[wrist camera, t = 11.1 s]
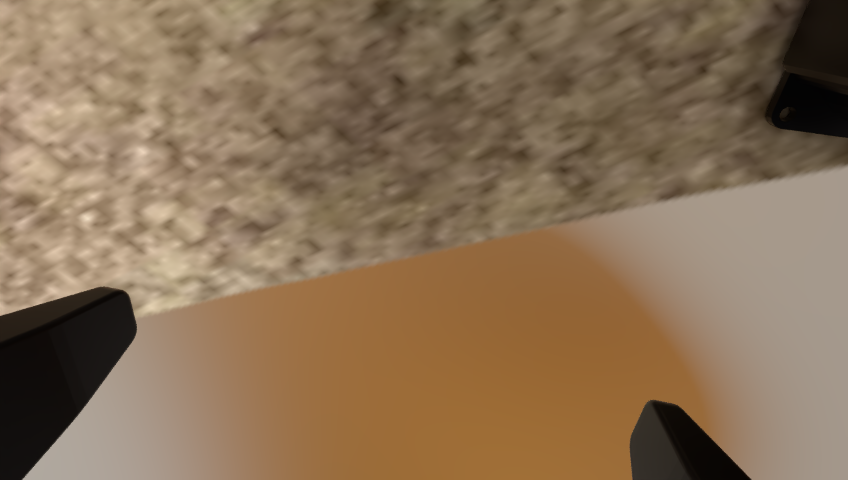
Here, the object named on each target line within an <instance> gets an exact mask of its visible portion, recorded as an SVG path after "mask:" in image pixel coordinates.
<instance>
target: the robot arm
mask: <svg viewBox="0 0 848 480" xmlns="http://www.w3.org/2000/svg"><path fill="white" fill-rule="evenodd" d="M783 66H784V68H785V71H784V73H783V76H782V78H781V80H780V82H779V85H778V87H777V89H776V91H775V94H774V96H773V98H772V100H771V102H770V105H769V107H768V109H767V112H766V119H767V121H768V122H769V123H770V124H771V125H773V126H775V127H778V128H781V129H787V130H794V131H802V132H809V133H816V134H824V135H831V136H838V137H846V138H848V0H810V2H809V4H808V6H807V8H806V11H805V13H804V15H803V17H802V20H801V22H800V24H799V27H798V29H797V31H796V33H795V36H794V38H793V40H792V42H791V45H790V47H789V49H788V51H787V54H786V56H785V58H784V60H783ZM787 107H790V109H791V110H790V114H789V115H788V116H787V117H786V118H784V119H780V118H779V116H780V113H781V111H782V110H783V109H785V108H787ZM136 332H137V324H136V320H135V316H134V312H133V308H132V304H131V300H130V297H129V295H128V294H127V293H126V292H125V291H123V290H120V289H115V288H110V287H98V288H94V289H91V290H87V291H84V292H81V293H77V294H74V295H70V296H67V297H63V298H60V299H57V300H53V301H50V302H46V303H43V304H40V305H36V306H33V307H29V308H26V309H23V310H19V311H16V312H12V313H9V314H5V315H2V316H0V480H22V479H23V478H24V477H25V476H26V474H28V472H29V471H30V470H31V469H32V468H33V467H34V466H35V464H36V463H37V462H38V461H39V460H40V459H41V458H42V456H43V455H44V454H45V453H46V452H47V451H48V450H49V448H50V447H51V446H52V445H53V444H54V443H55V442H56V440H57V439H58V438H59V437H60V436H61V435H62V434H63V432H64V431H65V430H66V429H67V428H68V426H69V425H70V424H71V423H72V422H73V420H74V419H75V418H76V417H77V416H78V415H79V413H80V412H81V411H82V409H83V408H84V407H85V406H86V404H87V403H88V402H89V400H90V399H91V398H92V396H93V395H94V393H95V392H96V391H97V389H98V388H99V386H100V385H101V384H102V382H103V381H104V380H105V378H106V377H107V376H108V374H109V373H110V372H111V370H112V369H113V367H114V366H115V365H116V363H117V362H118V361H119V359H120V358H121V356H122V355H123V354H124V352H125V351H126V350H127V348H128V347H129V345H130V344H131V343H132V341H133V340H134V338H135V335H136ZM630 457H631V467H632V478H633V480H751V479H750V478H749V477H748V476H747V475H746V474H745V473H744V471H743V470H742V469H741V468H739V466H738V465H737V464H736V463H735V462H734V461H733V460H732V459H731V458H730V457H729V456H728V455H727V454H726V453H725V452H724V451H723V450H722V449H721V448H720V447H719V446H718V445H717V444H716V443H715V442H714V441H713V440H712V439H711V438H710V437H709V436H708V435H707V434H706V433H705V432H704V431H703V430H702V429H701V428H700V427H699V426H698V425H697V424H696V423H695V422H694V421H693V420H692V419H691V417H690V416H689V415H687V413H685V411H684V410H683V409H682V408H680V407H679V406H678V405H675V404H672V403H667V402H662V401H657V400H650V401H648V402H647V403H646V405H645V407H644V408H643V411H642V413H641V415H640V417H639V420H638V422H637V424H636V426H635V428H634V430H633V432H632V435H631V439H630Z"/></svg>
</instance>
